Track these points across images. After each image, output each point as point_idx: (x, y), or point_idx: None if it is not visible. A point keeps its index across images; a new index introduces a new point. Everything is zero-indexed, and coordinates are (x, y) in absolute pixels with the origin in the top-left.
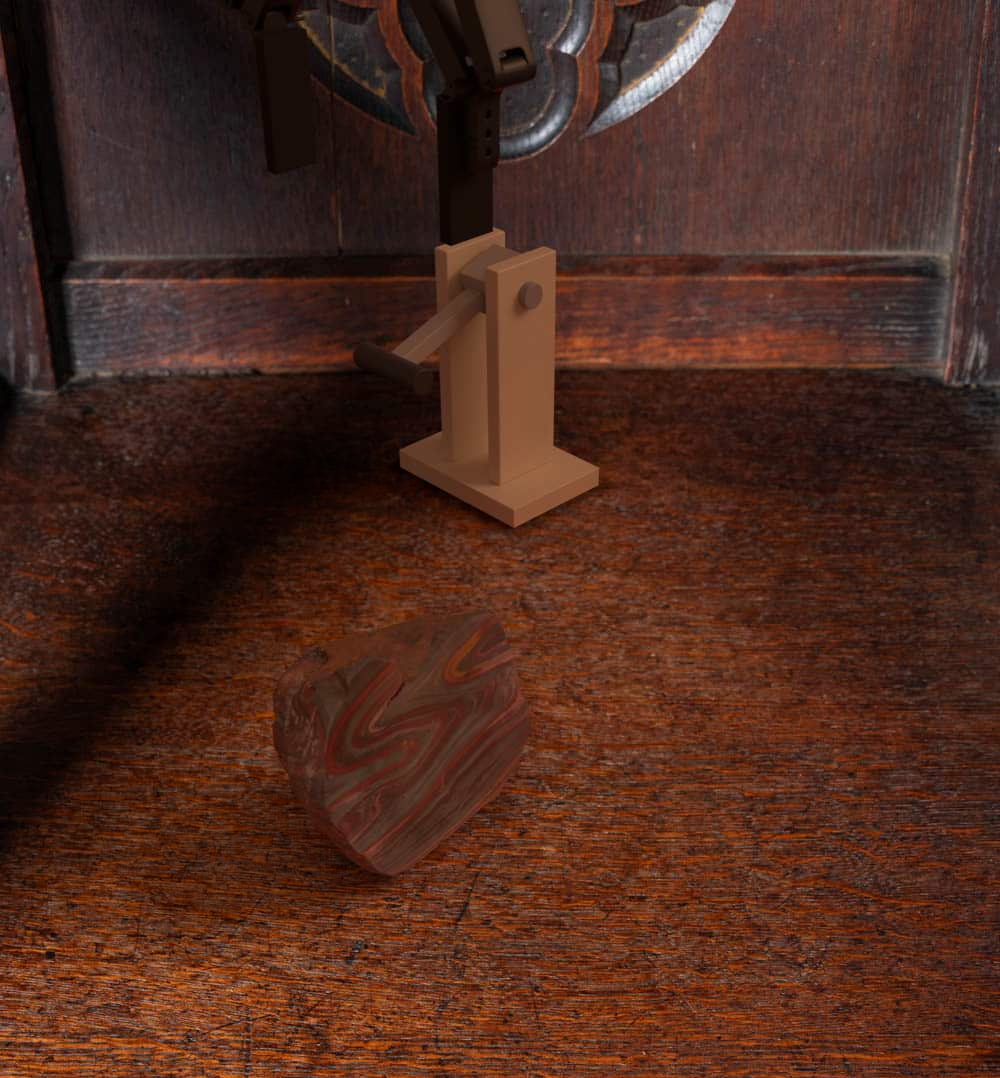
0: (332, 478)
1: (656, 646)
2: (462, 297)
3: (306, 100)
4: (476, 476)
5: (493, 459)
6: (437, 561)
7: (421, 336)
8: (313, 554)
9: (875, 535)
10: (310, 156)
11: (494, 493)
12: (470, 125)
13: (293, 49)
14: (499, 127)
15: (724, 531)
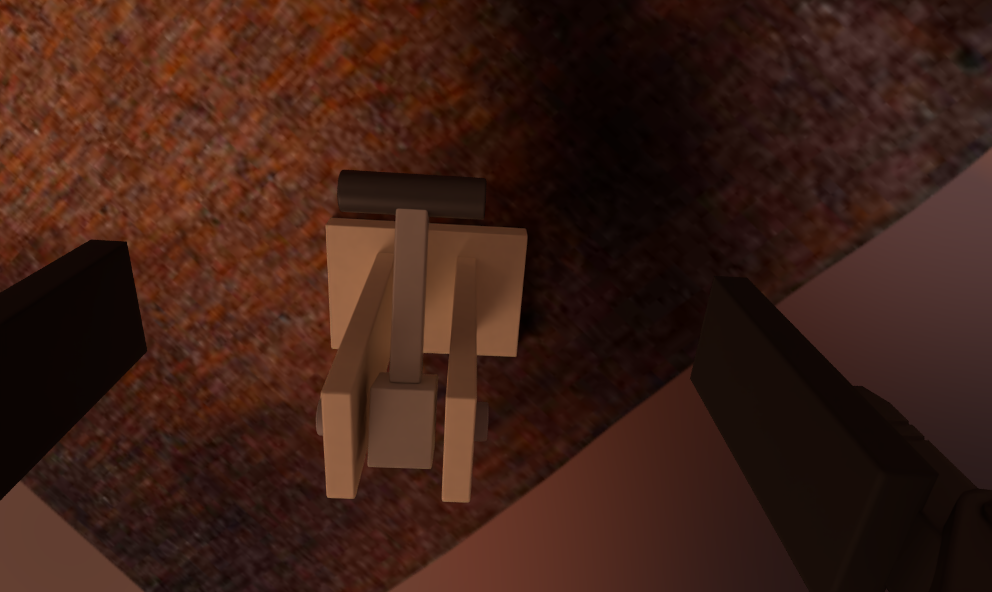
0: (570, 158)
1: (47, 146)
2: (409, 358)
3: (742, 450)
4: None
5: (382, 263)
6: (336, 108)
7: (404, 259)
8: (453, 14)
9: (88, 431)
10: (698, 372)
11: (369, 236)
12: None
13: (813, 528)
14: None
15: (182, 352)
